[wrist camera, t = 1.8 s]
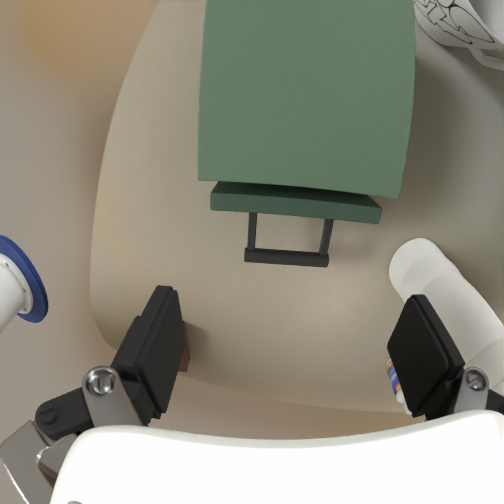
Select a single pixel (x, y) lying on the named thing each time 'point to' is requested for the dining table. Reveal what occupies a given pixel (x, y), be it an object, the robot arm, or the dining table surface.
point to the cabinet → (307, 93)
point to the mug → (465, 25)
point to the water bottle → (452, 305)
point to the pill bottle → (396, 385)
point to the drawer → (292, 214)
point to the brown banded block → (184, 357)
